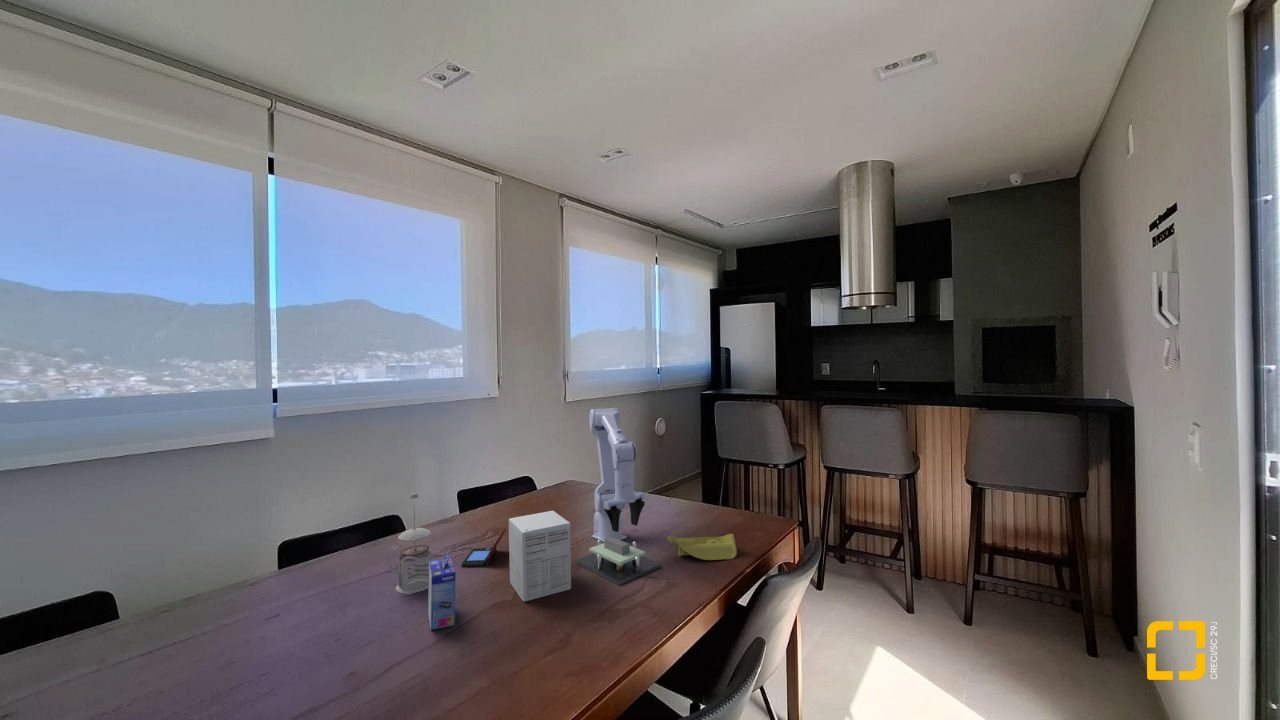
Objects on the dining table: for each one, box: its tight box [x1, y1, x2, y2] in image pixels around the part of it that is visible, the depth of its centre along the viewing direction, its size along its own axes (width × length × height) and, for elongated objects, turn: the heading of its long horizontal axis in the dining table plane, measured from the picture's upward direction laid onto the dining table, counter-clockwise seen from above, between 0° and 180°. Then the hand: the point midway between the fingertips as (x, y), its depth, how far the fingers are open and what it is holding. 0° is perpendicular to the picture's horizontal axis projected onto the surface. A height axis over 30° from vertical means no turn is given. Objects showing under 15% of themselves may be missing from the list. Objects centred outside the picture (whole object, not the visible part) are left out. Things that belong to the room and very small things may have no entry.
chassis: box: [575, 539, 662, 586], centre depth 138 cm, size 20×16×5 cm
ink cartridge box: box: [427, 552, 457, 631], centre depth 111 cm, size 10×6×14 cm, turn 27°
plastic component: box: [667, 533, 738, 561], centre depth 145 cm, size 20×7×10 cm
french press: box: [386, 492, 432, 594], centre depth 127 cm, size 10×12×25 cm
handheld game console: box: [460, 528, 507, 568], centre depth 144 cm, size 12×11×7 cm
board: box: [588, 537, 647, 565], centre depth 138 cm, size 14×10×3 cm
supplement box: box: [508, 510, 572, 603], centre depth 126 cm, size 13×13×18 cm
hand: (625, 527), depth 143 cm, fingers open, 7 cm apart
